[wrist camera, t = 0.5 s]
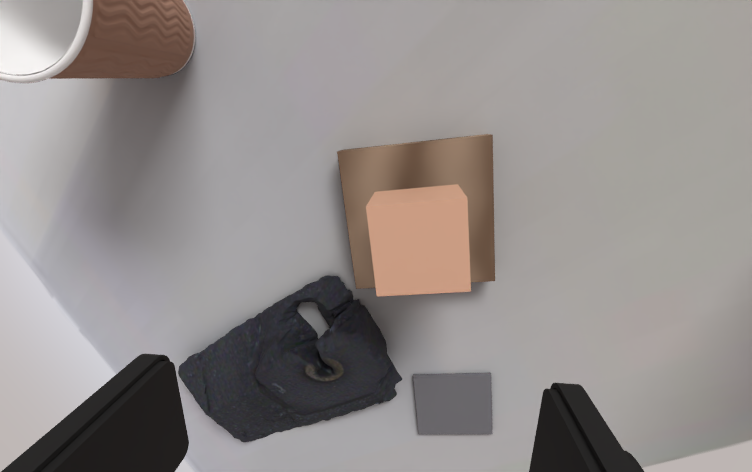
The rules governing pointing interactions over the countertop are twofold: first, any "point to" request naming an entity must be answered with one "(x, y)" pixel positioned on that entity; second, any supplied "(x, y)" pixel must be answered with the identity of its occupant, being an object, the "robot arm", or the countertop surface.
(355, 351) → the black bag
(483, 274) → the square brown stand
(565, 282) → the countertop surface
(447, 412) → the mat
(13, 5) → the coffee cup
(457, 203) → the peach colored cube
